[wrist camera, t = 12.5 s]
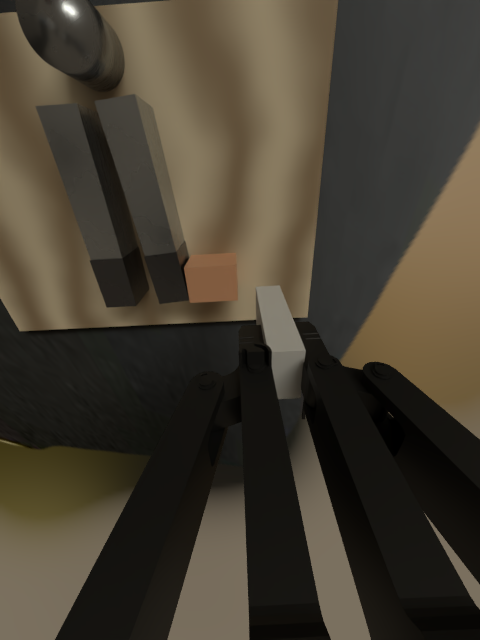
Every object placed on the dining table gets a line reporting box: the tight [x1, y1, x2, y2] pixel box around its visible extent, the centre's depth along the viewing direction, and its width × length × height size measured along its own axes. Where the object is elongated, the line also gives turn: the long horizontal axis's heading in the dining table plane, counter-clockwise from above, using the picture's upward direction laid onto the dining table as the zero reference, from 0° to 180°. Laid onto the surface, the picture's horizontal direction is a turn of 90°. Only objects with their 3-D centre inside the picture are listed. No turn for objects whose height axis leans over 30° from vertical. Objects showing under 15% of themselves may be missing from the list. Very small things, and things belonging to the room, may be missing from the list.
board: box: [0, 0, 338, 331], centre depth 21 cm, size 30×22×1 cm
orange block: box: [184, 253, 238, 303], centre depth 22 cm, size 4×3×4 cm
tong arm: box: [94, 94, 189, 304], centre depth 19 cm, size 13×2×4 cm, turn 8°
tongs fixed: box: [15, 0, 149, 308], centre depth 18 cm, size 18×5×4 cm, turn 3°
